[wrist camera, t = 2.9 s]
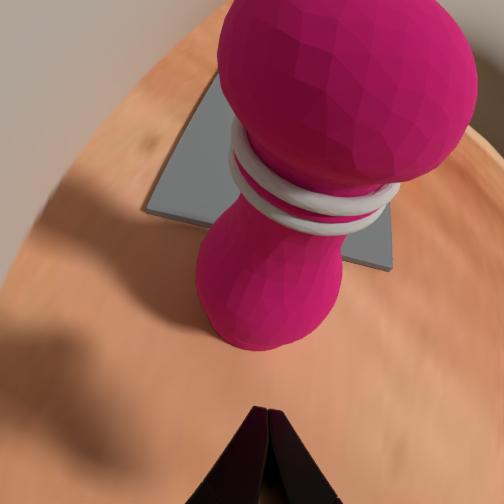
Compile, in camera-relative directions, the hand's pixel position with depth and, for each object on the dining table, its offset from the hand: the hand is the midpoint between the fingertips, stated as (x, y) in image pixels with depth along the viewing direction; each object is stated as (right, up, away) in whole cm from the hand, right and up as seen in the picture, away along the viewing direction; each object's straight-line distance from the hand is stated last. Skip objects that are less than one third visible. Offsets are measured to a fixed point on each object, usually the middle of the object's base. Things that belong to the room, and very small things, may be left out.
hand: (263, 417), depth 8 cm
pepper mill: (0, +1, +12) cm, 12 cm away
